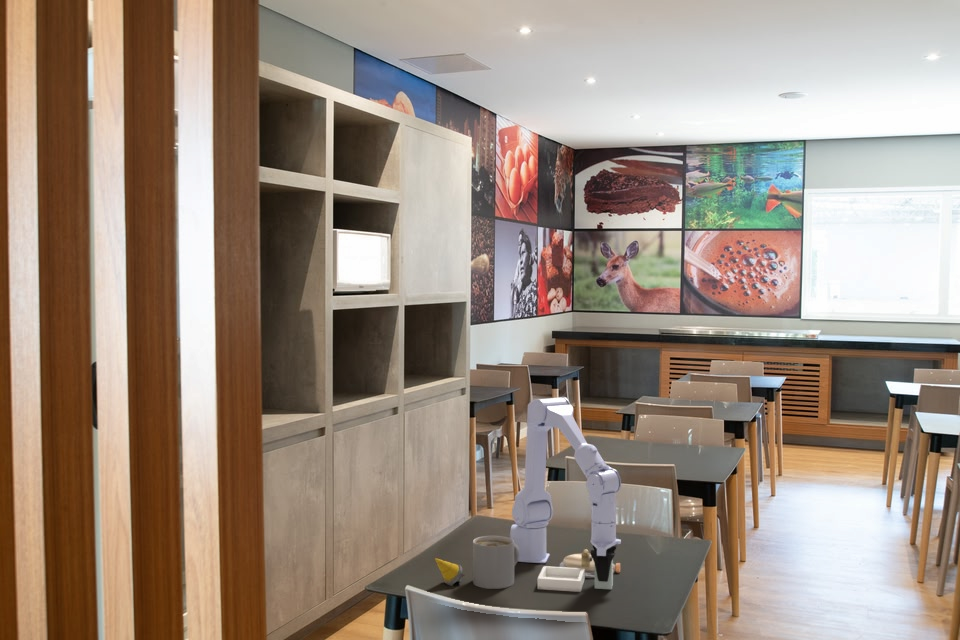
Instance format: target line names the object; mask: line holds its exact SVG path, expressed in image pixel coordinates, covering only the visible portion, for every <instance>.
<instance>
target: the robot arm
mask: <svg viewBox="0 0 960 640" xmlns="http://www.w3.org/2000/svg"><path fill="white" fill-rule="evenodd" d="M526 413H527V416H526V443H525V444H526V445H525V463H524V464H525V467H524V482H523V483H524V485H523V488H522V489H521V490H520V491H519V492H518V493H516V495H515V496H514V503H513V506H512V508H511V516H512V519H513V522H515V524H512V525H511V527H510V533H509V538H511V539H513V540H514V544H516V545H517V546H518V549H519V558H518V562H517V563H532V564H533V563H534V564H547V562H548V560H549V558H550V555H551V554H550V553H547V526H548V525H549V522H550V521H551V520H552V518H553V515H554V507H553V504H552V495H551V494H550V493H549V492H548V491H546V489H545V488H546V470H547V469H546V467H547V451H548V450H547V447H548V432H549V430H551V429H552V428H555V429H558V430H559V431H560V432H561V434H563V436H564V438H565V439H566V440H567V442H568V443H569V445H571V447H572V448H573V450H574V455H573V458H574V460H575V462H576V463H577V465H578V467H579V468H580V470H581V471H582V473H583V474H584V476H585V478H586V479H587V480H586V481H585V486H586V490H587V492H588V496H589V497H588V498H589V502H590V503H591V509H590V510H591V538H590V543H591V545H592V548H593V549H591V550H590V551H589V553H590V554H591V557H592V558H593V561H594V563H595V567H596V572H597V577H598V581H603V582H607V581H608V577H609V571H610V565H611V562H612V559H614V557H615V555H616V549H617V547H618V546H617V545H620V544H621V543H622V539H619V538H617V532H616V531H617V528H616V527H617V524H616V523H617V513H616V512H617V505H616V504H617V503H616V502H617V501H616V499H617V496H616V495H617V493H618V492H619V491H620V489H621V485H622V479H621V476H620V474H619V471H618V470H617V469H615V468H612V467H610V465H607V463H606V462H605V460H604V459H603V458H602V456H601V454H600V453H599V451H598V448H597V447H596V446H595V445H594V444H592V443H591V444H590V443H588V442H587V440H586V439H585V437H584V435H583V433H582V431H581V429H580V428H579V425H578V424H577V422H576V420H575V417H574V407H573V405H572V404H571V402H570V400H569V399H568V398H567V397H566V396H558V397H548V398H535V399H533V400H531V401H530V402H529V403H528V404H527V412H526Z"/></svg>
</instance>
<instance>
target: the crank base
mask: <svg viewBox="0 0 960 640" xmlns="http://www.w3.org/2000/svg"><path fill="white" fill-rule="evenodd" d="M559 567H565V566H564V560H562V561H561V562H560V563H559ZM617 573H621V563H620V562H616V563H615V564H614V563H613V575H614V574H617ZM585 579H595V572H585Z"/></svg>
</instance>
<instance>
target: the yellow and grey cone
mask: <svg viewBox="0 0 960 640" xmlns="http://www.w3.org/2000/svg"><path fill="white" fill-rule="evenodd" d="M434 560H435V562H436V564H437V565H436V566H437V567H438V568H439V571H440V574H441V575H442V581H443V582H444V583H445V584H446V585H448V586H452V585H454V584H455V583H457V582H462V579H463V578H464V577H465V574H464V573H463V571H464V570H463V567H462V565H460V564H459V563H456V562H455V563H453V562H449V561H446V560H443V559H440V558H436V557H435V558H434Z"/></svg>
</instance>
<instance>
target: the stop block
mask: <svg viewBox="0 0 960 640" xmlns="http://www.w3.org/2000/svg"><path fill="white" fill-rule="evenodd" d="M613 559H614V558H613ZM613 559H612V562H611V565H610V571H609V577H608V581H607V582H603V581H598V577H597V572H596V567H595V578H594V589H599V590H601V589H602V590H613V585H614V574H613V564H614V560H613Z"/></svg>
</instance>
